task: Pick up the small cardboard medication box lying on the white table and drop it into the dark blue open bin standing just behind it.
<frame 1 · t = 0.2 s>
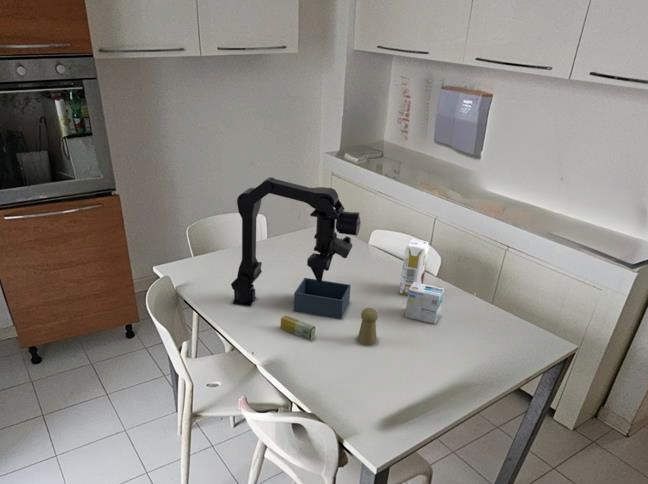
hand: (323, 276, 170), 15 cm above the table, tool pointing down, fingers open, 9 cm apart
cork: (366, 341, 166), on the table
light bulb box: (421, 316, 179), on the table
medication box: (297, 333, 168), on the table
dark blue open bin: (322, 306, 183), on the table
juice carton: (410, 291, 194), on the table
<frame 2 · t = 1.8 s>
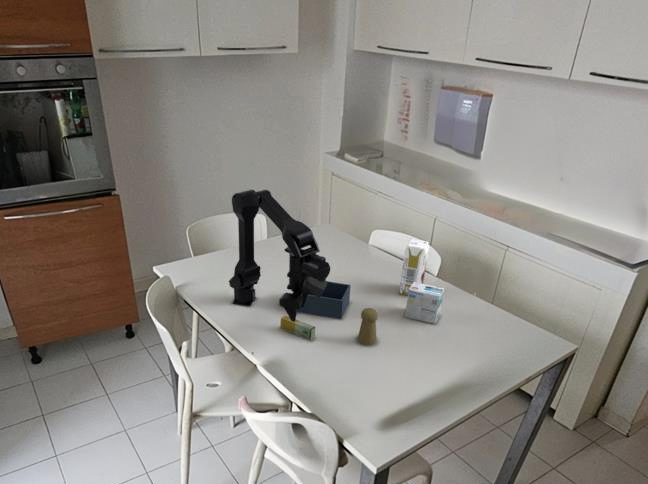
hand: (297, 314, 164), 7 cm above the table, tool pointing down, fingers open, 9 cm apart
nothing on the table moved.
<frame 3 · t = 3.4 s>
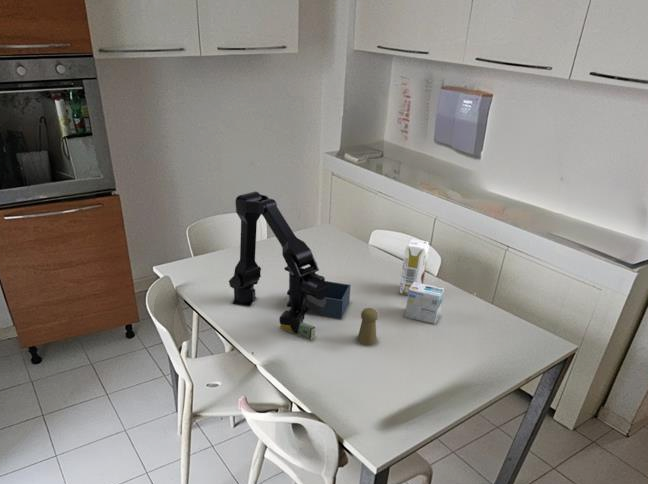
hand: (297, 330, 168), 1 cm above the table, tool pointing down, fingers closed on medication box, 3 cm apart
medication box: (297, 333, 168), on the table, touching gripper
everything else where it was.
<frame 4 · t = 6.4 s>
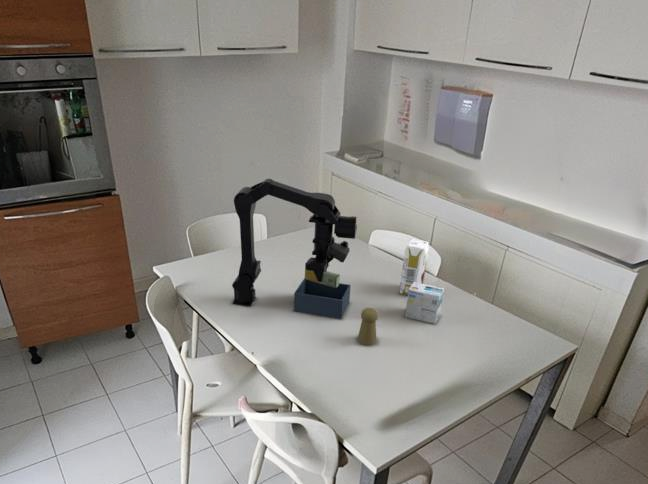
hand: (321, 279, 175), 11 cm above the table, tool pointing down, fingers closed on medication box, 3 cm apart
medication box: (321, 283, 176), point 10 cm above the table, touching gripper
everything else where it was.
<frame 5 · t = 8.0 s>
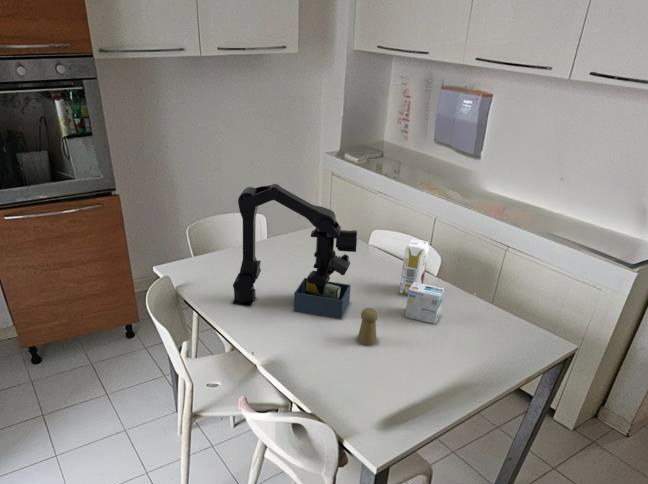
hand: (322, 291, 179), 6 cm above the table, tool pointing down, fingers closed on medication box, 3 cm apart
medication box: (323, 294, 180), point 5 cm above the table, touching gripper
everything else where it was.
when the fingers open (4 cm above the table, at t = 9.3 s): medication box stays where it is, resting on dark blue open bin.
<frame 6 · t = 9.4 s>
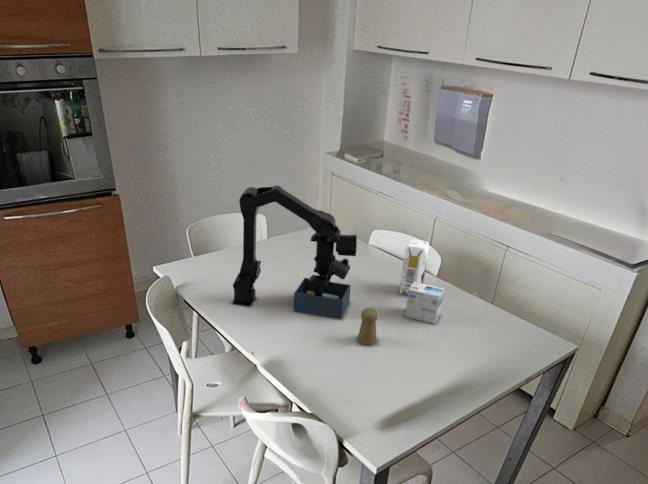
hand: (322, 295, 180), 5 cm above the table, tool pointing down, fingers open, 8 cm apart
medication box: (322, 305, 183), resting on dark blue open bin
everything else where it was.
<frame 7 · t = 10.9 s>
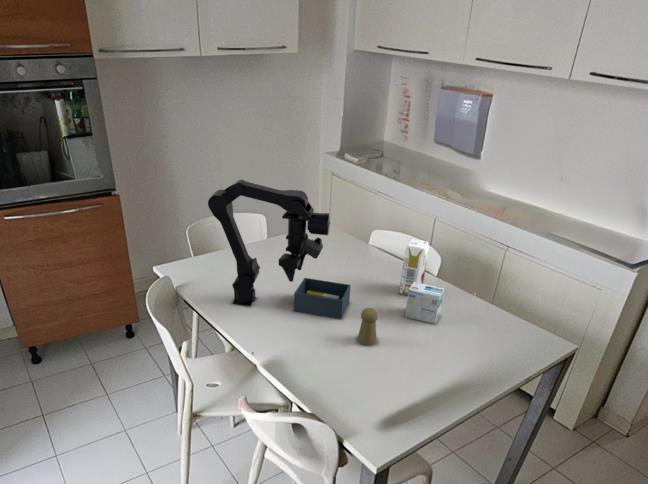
hand: (295, 275, 177), 12 cm above the table, tool pointing down, fingers open, 9 cm apart
nothing on the table moved.
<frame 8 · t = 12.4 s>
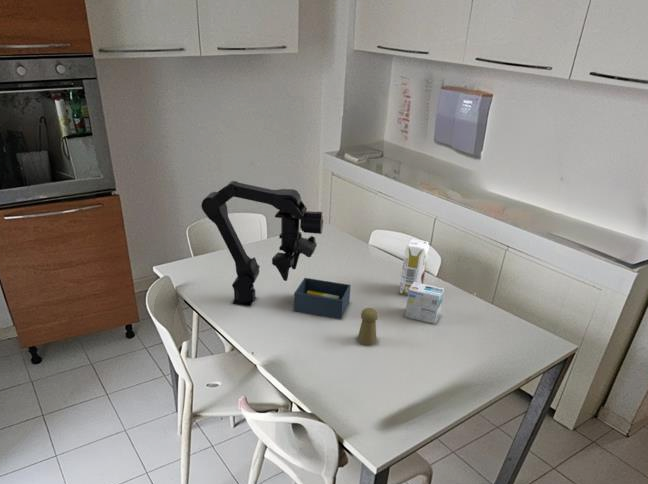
hand: (289, 274, 176), 12 cm above the table, tool pointing down, fingers open, 9 cm apart
nothing on the table moved.
at the end: medication box inside the target area in the dark blue open bin (0.4 cm from its centre), point 0.4 cm above the dark blue open bin's base; the gripper is holding nothing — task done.
